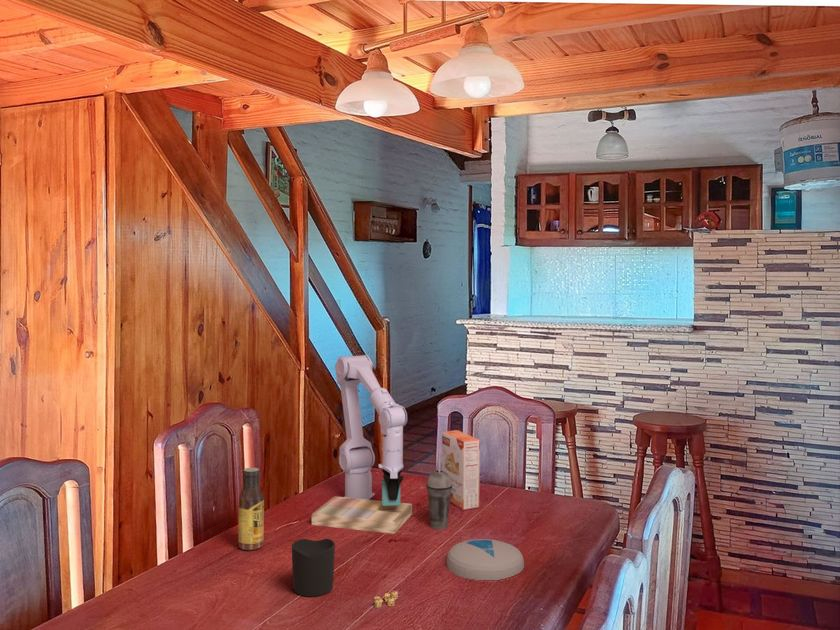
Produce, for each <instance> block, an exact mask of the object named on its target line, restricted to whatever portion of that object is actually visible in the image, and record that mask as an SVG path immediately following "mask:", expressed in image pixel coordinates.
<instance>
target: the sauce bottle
mask: <svg viewBox="0 0 840 630" xmlns="http://www.w3.org/2000/svg"><path fill="white" fill-rule="evenodd" d="M242 472H243V488H242V490H241V492H240V494H239V496H238V497H239V498H238V520H237V521H238V522H237V523H238V524H237V525H238V527H237V528H238V529H237V530H238V531H237V533H238V534H237V536H238V537H237V538H238V546H239V549H241V550H242V551H255V550H258V549H260V548H262V547H263V544H264V530H265V528H264V526H265V523H264V522H265V519H264V518H265V514H264V513H265V511H264V509H265V499H264V496H263V494H262V493H263V492H262V491H261V487H260V474H261V473H260V469H259V468H258V467H247V468H244V469H243V470H242Z"/></svg>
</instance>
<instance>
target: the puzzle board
mask: <svg viewBox="0 0 840 630" xmlns="http://www.w3.org/2000/svg"><path fill="white" fill-rule="evenodd" d="M412 514H413V504H412V503H406V502H405V503H404V502H400V505H391V506H383V505H382V500H376V499H375V500H374V499H369V500H366V499H356V498H346V497H344V496H337V495H335V496H332V497H331V498H330V499H329V500H328V501H327V502H325V503H323V504H322V505H321V506H320V507H319V508H317V509H316V510H315V511H314V512H312V513H311V525H313V526H321V527H329V528H337V529H347V530H356V531H357V530H358V531H364V532H375V533H381V534H382V533H383V534H393V535H395V534H396V533H397V532H398V531H399V529H400V528H401V527H402V526H404V524H405V523H406V522H407V520H409V518H410V517H411V516H412Z"/></svg>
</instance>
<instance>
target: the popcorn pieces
mask: <svg viewBox="0 0 840 630" xmlns="http://www.w3.org/2000/svg"><path fill="white" fill-rule="evenodd" d="M397 599H398V591H397V590H391V591H390V593H386V592H385V593H384V600H383V599H382V598H381V597H380V596H377V595H376V596H375V597H374V598H373V600H374V607H375V608H381V607H382V606H383V602H384V601H385V602H386V603H387V604H386V605H387V606H388V607H394V606H395V600H397Z"/></svg>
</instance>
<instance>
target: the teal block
mask: <svg viewBox="0 0 840 630" xmlns="http://www.w3.org/2000/svg"><path fill="white" fill-rule="evenodd" d="M381 501H382V505H383V506H391V505H400V503H401V486H400V487H399V492H398V497H397V500H389V497H388V490H387V485H386V483H385V480H384V479H381Z"/></svg>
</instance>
